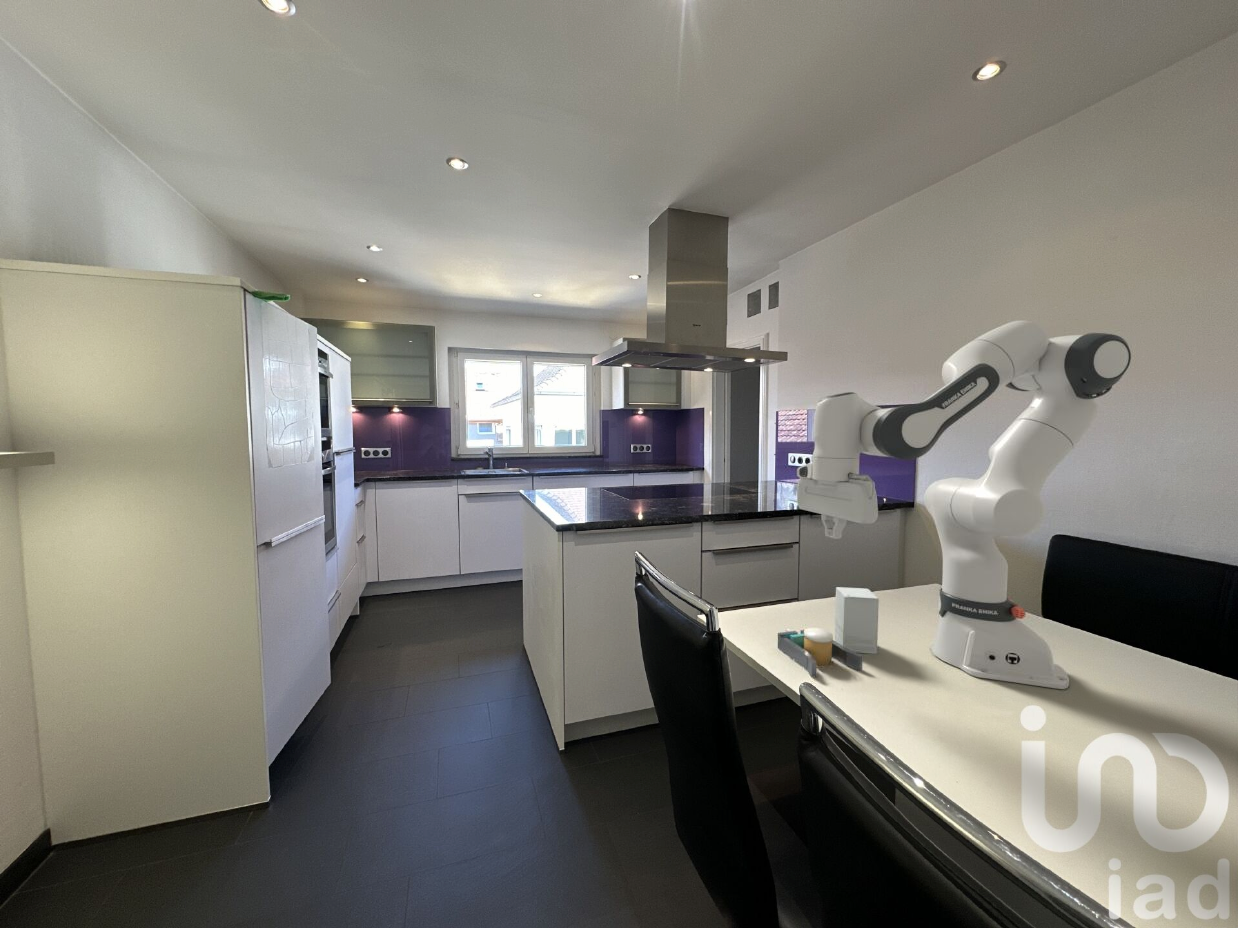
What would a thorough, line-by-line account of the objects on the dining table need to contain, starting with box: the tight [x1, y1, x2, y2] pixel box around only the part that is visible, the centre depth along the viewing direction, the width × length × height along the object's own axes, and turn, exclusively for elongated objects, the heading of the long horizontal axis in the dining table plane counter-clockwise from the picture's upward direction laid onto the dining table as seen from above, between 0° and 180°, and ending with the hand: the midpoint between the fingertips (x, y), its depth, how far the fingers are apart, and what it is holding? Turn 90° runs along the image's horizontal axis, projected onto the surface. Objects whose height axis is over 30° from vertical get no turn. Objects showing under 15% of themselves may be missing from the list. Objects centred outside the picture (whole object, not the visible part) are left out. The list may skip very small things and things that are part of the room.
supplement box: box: [834, 586, 880, 655], centre depth 107 cm, size 7×7×13 cm
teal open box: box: [785, 627, 804, 649], centre depth 107 cm, size 8×7×4 cm
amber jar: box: [803, 627, 834, 668], centre depth 100 cm, size 6×6×6 cm
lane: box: [777, 629, 864, 678], centre depth 101 cm, size 13×12×4 cm
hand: (833, 537), depth 97 cm, fingers closed
